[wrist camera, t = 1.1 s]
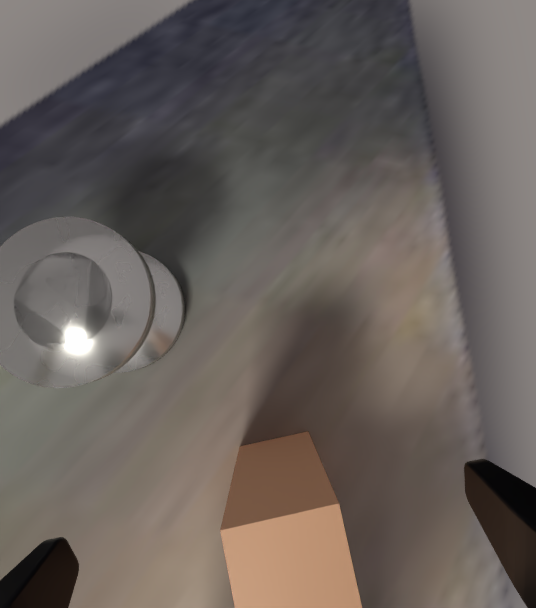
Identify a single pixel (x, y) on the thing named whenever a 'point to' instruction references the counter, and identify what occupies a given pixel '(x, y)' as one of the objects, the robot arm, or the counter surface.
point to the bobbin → (82, 304)
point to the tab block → (286, 530)
